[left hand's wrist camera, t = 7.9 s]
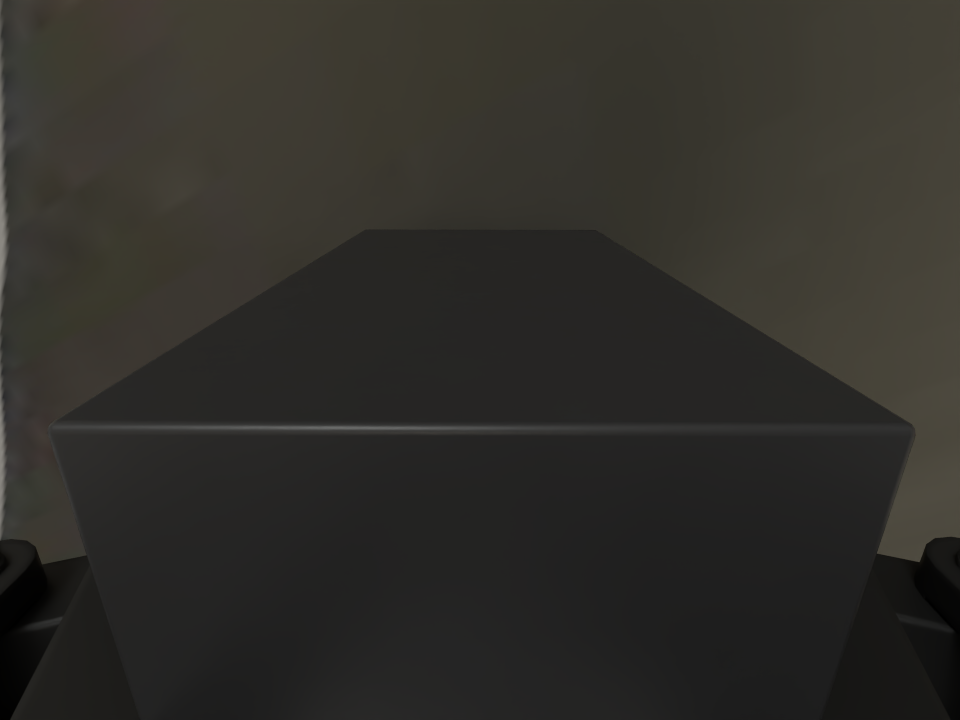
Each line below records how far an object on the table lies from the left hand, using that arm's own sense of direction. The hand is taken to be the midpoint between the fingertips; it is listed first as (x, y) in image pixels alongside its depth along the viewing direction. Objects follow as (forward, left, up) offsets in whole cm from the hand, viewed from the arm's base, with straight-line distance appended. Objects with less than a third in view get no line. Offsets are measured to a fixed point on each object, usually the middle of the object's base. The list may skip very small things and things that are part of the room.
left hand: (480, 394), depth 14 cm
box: (+5, +9, -1) cm, 10 cm away
